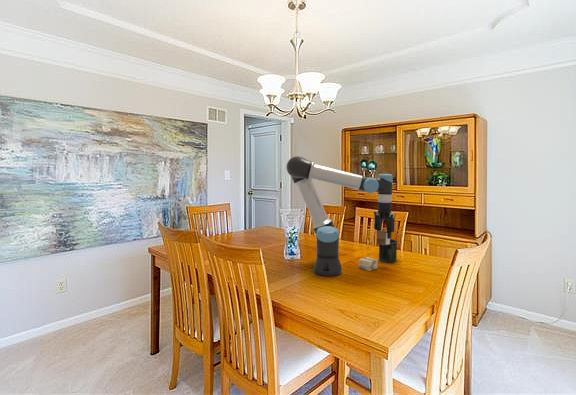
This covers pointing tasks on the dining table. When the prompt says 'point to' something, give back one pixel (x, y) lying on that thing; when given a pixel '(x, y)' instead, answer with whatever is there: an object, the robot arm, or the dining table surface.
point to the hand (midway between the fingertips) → (383, 243)
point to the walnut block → (381, 237)
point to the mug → (388, 251)
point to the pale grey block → (368, 263)
